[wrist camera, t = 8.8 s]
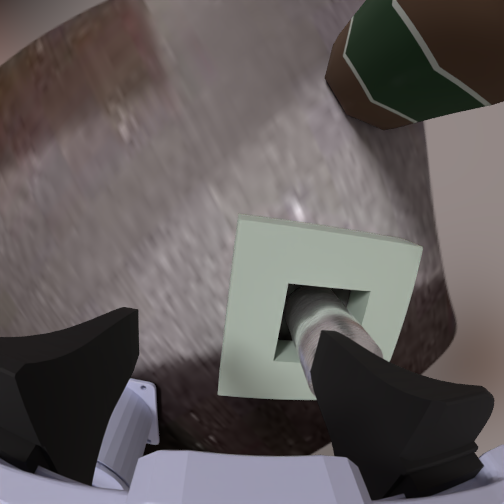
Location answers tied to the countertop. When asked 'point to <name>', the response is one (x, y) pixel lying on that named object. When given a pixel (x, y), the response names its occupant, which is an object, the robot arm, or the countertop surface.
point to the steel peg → (321, 323)
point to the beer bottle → (418, 60)
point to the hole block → (313, 274)
